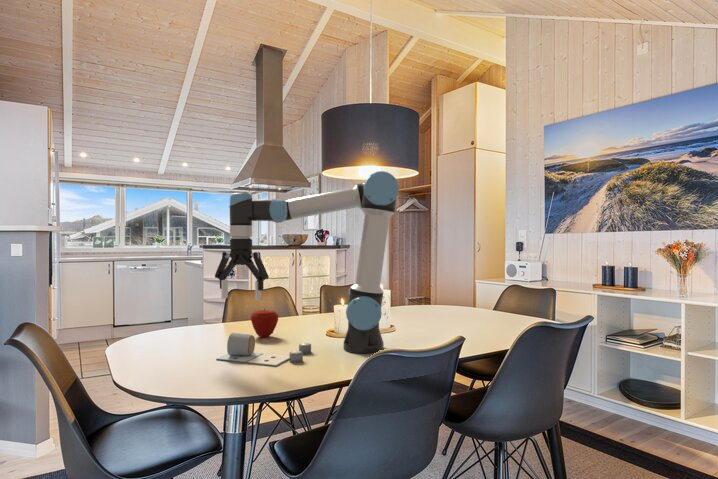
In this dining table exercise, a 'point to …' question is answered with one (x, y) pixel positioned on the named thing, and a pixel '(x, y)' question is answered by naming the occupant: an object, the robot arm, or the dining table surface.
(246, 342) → the grey cylinder
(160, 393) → the dining table surface
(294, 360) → the tealight
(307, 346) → the tealight
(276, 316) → the apple
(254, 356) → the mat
